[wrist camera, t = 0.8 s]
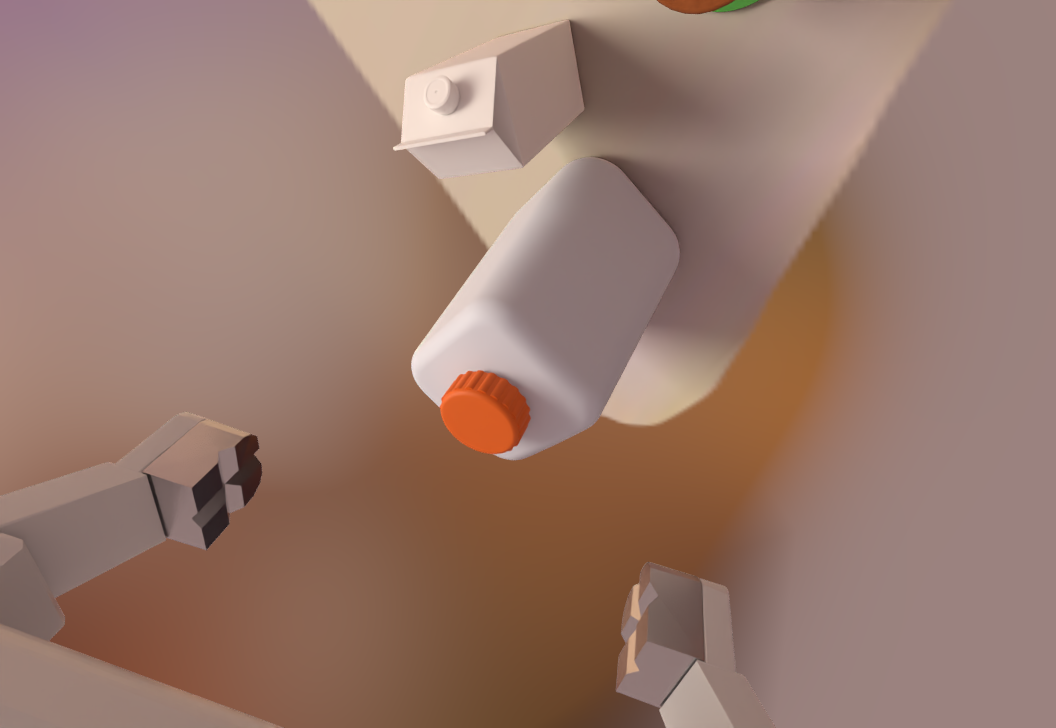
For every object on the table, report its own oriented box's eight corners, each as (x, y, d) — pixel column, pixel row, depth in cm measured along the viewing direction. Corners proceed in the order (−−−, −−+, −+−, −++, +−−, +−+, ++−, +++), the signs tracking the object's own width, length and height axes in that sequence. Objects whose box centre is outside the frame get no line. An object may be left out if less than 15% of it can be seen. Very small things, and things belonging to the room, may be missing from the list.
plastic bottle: (499, 228, 60) (345, 391, 40) (597, 132, 50) (456, 287, 30) (591, 325, 63) (491, 520, 43) (700, 254, 53) (635, 466, 33)
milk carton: (585, 109, 49) (500, 189, 35) (514, 122, 52) (411, 200, 39) (570, 18, 45) (468, 69, 32) (494, 37, 48) (371, 91, 35)
